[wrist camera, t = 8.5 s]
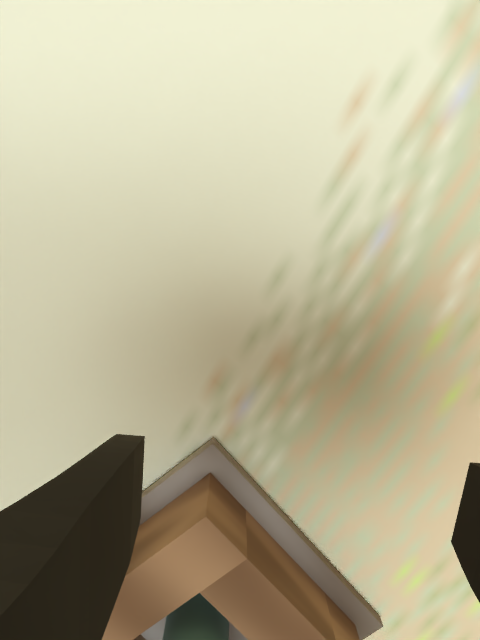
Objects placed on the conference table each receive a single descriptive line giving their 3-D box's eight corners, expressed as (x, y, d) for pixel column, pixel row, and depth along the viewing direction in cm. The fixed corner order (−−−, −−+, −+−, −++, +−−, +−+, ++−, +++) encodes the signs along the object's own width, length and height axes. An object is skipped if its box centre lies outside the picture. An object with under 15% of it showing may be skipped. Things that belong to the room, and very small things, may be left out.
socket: (187, 740, 25) (178, 828, 21) (14, 590, 22) (-28, 661, 19) (379, 615, 23) (405, 689, 19) (213, 437, 20) (208, 484, 17)
